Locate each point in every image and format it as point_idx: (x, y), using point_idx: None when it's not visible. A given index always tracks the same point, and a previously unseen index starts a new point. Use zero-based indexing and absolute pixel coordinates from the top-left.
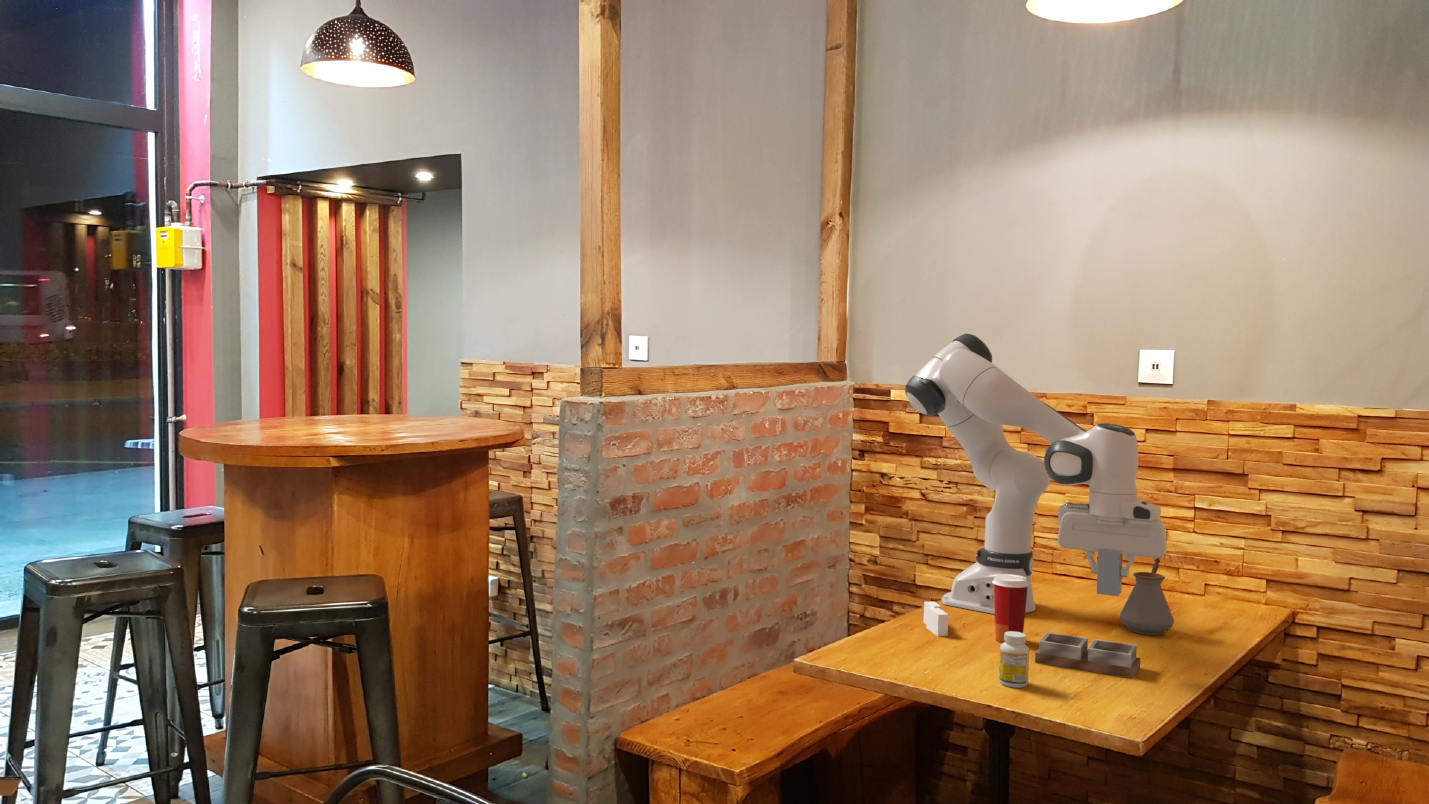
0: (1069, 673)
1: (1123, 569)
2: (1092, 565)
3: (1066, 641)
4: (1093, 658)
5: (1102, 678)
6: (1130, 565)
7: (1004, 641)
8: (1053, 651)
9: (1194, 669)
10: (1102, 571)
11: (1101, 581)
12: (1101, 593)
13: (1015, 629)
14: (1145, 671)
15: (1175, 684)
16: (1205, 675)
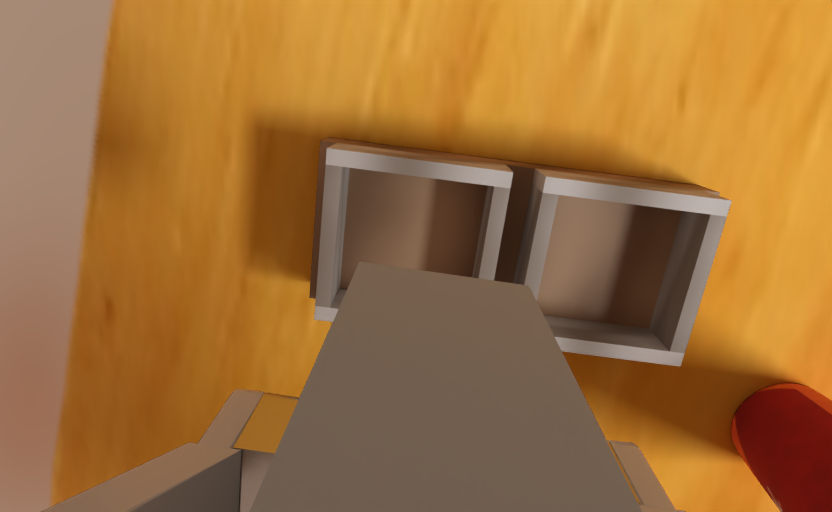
0: (568, 95)
1: (257, 442)
2: (657, 500)
3: (594, 331)
4: (484, 163)
5: (443, 85)
6: (132, 469)
7: (806, 388)
8: (652, 186)
9: (147, 343)
10: (519, 384)
11: (509, 325)
12: (491, 281)
13: (799, 420)
14: (297, 250)
15: (186, 131)
16: (106, 289)
